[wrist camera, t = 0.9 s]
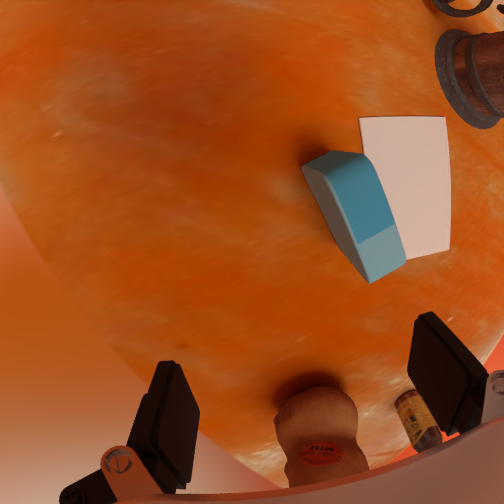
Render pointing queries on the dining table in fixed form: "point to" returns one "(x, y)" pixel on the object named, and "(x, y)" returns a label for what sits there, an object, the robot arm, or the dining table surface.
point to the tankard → (472, 69)
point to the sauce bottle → (418, 422)
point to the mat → (413, 177)
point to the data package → (356, 212)
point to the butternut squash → (319, 436)
